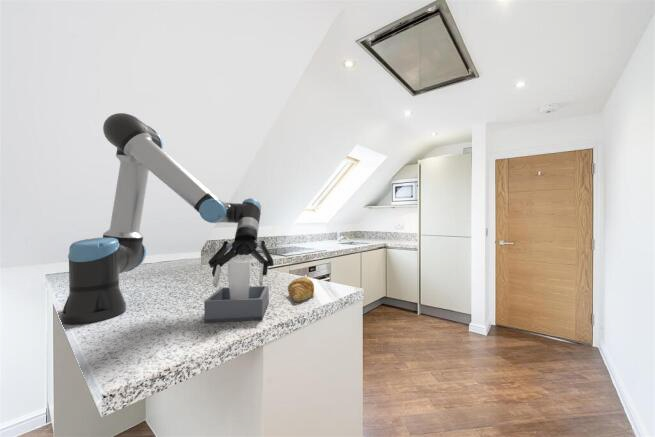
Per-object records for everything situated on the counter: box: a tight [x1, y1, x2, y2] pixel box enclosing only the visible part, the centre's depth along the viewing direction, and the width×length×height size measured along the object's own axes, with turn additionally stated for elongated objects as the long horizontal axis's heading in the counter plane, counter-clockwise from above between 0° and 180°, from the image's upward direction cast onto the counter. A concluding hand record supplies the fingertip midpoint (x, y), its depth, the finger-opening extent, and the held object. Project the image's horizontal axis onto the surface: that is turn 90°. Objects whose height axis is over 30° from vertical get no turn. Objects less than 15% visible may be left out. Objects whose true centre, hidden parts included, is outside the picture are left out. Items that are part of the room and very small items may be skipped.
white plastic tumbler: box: [227, 258, 251, 299], centre depth 85 cm, size 7×7×15 cm
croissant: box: [287, 276, 315, 302], centre depth 104 cm, size 21×10×8 cm, turn 176°
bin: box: [203, 285, 270, 324], centre depth 85 cm, size 16×16×6 cm
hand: (237, 284), depth 83 cm, fingers open, 13 cm apart
